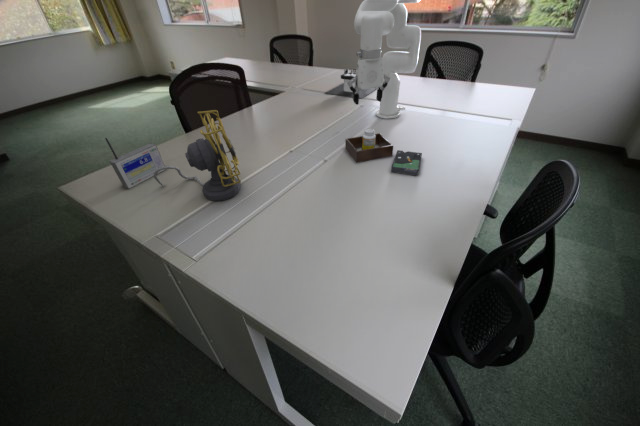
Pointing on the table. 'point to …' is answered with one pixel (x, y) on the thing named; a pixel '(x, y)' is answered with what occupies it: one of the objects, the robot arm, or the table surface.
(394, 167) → the disk drive
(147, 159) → the electronic device
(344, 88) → the black-topped pedestal
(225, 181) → the electric fan
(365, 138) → the supplement bottle
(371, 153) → the desk caddy
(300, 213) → the table surface
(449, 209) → the table surface
